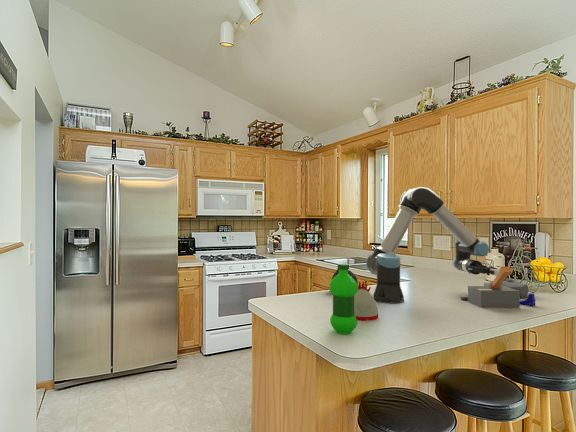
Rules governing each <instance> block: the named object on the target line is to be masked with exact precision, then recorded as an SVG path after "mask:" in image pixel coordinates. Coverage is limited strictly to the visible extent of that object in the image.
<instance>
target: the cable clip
mask: <svg viewBox="0 0 576 432" xmlns="http://www.w3.org/2000/svg"><path fill="white" fill-rule="evenodd" d="M525 305H526V306H527V307H532V308H533V307H535V306H536V299H535V293H532V292H529V293H528V295H527V297H526V299H523V300H521V299H520V306H525Z"/></svg>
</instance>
